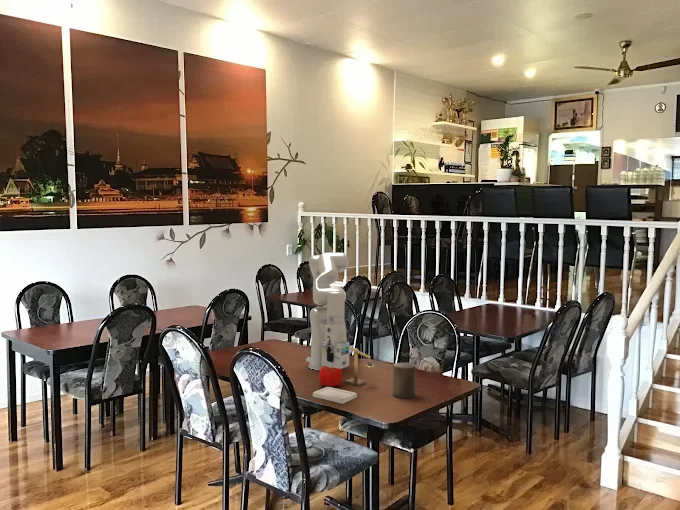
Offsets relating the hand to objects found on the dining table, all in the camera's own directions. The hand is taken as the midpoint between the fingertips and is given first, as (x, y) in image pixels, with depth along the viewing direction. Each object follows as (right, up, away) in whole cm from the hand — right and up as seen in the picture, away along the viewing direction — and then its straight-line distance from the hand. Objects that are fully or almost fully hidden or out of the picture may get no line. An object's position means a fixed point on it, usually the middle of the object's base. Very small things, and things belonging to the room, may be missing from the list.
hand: (335, 359), depth 259 cm
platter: (0, -17, +1) cm, 17 cm away
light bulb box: (0, -3, 0) cm, 3 cm away
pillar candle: (+30, -17, +5) cm, 35 cm away
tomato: (-2, -16, +17) cm, 23 cm away
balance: (+9, -15, +22) cm, 28 cm away
